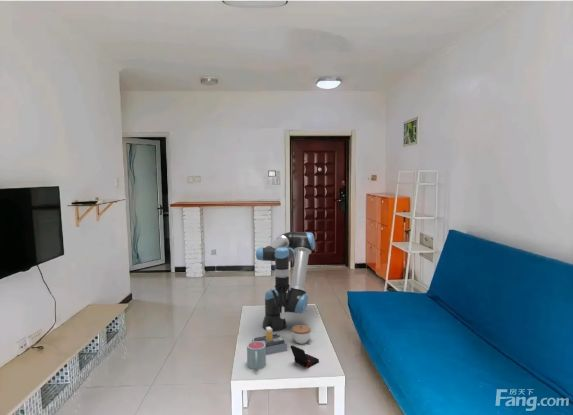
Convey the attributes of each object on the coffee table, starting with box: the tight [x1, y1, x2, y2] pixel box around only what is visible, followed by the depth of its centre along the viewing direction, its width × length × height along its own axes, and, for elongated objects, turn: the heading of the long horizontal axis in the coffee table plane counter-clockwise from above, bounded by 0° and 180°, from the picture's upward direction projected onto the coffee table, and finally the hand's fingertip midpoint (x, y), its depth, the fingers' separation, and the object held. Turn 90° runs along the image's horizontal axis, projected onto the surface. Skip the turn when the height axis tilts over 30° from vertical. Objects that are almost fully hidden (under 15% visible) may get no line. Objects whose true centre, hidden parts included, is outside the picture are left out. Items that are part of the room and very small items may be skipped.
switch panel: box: [251, 333, 288, 356], centre depth 202 cm, size 16×12×5 cm
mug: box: [246, 341, 267, 370], centre depth 183 cm, size 14×9×10 cm
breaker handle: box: [265, 327, 274, 343], centre depth 202 cm, size 4×5×7 cm
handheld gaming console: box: [289, 345, 320, 369], centre depth 186 cm, size 9×12×10 cm
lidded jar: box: [291, 324, 312, 345], centre depth 211 cm, size 11×11×9 cm
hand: (282, 318), depth 204 cm, fingers closed
